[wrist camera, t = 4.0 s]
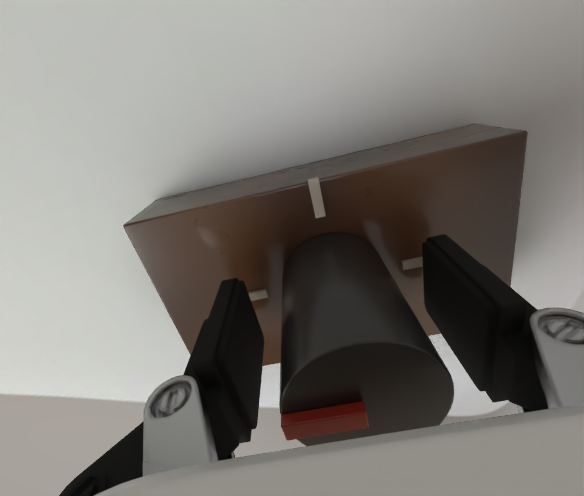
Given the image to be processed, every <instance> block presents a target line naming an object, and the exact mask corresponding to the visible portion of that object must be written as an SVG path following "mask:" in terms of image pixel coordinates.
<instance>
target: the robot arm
mask: <svg viewBox="0 0 584 496" xmlns="http://www.w3.org/2000/svg"><path fill="white" fill-rule="evenodd" d="M422 260H423V284H424V304H425V308H426V311H427V313H428V314H429V316H430V317H431V319H432V320H433V322H434V323H435V325H436V326H437V328H438V329H439V331H440V332H441V334H442V335H443V337H444V339H445V340H446V342H447V343H448V345H449V346H450V348H451V349H452V351H453V352H454V354H455V355H456V357H457V358H458V360H459V361H460V363H461V364H462V366H463V367H464V369H465V370H466V372H467V373H468V375H469V376H470V378H471V379H472V381H473V382H474V384H475V385H476V387H477V388H478V389H479V390H480V391H486V393H487V394H488V396H489V397H490V399H491V400H492V402H498V401H505V400H509V401H510V402H512V403H514V404H516V405H517V408H518V412H519V413H518V414H512V415H505V416H498V417H492V418H485V419H479V420H472V421H465V422H459V423H452V424H445V425H439V426H432V427H426V428H420V429H413V430H407V431H400V432H394V433H387V434H381V435H375V436H368V437H362V438H356V439H349V440H343V441H337V442H330V443H324V444H318V445H312V446H306V447H299V448H293V449H287V450H281V451H275V452H269V453H262V454H257V455H250V456H244V457H238V458H235V455H234V450H235V449H236V448H237V446H238V445H239V443H243V442H249V441H250V438H251V430H252V429H255V428H256V426H257V420H258V408H259V397H260V386H261V375H262V364H263V353H264V336H263V332H262V330H261V327H260V324H259V321H258V319H257V316H256V313H255V310H254V307H253V305H252V302H251V299H250V296H249V294H248V291H247V288H246V285H245V283H244V281H243V280H242V281H239V280H238V278H233V279H228V280H223V281H222V282H221V284H220V287H219V289H218V292H217V295H216V298H215V301H214V303H213V306H212V309H211V312H210V315H209V317H208V319H206V320H204V322H203V324H202V327H201V329H200V332H199V335H198V337H197V340H196V343H195V345H194V348H193V351H192V354H191V356H190V359H189V362H188V364H187V367H186V370H185V372H184V375H181V376H176V377H174V378H171V379H169V380H167V381H165V382H164V383H162V384H161V385H160V386H159V387H158V388H156V389H155V390H154V391H153V393H152V394H151V395H150V396H149V398H148V400H147V402H146V404H145V408H144V421H143V422H142V423H141V424H140V425H139V426H138V427H136V428H135V429H134V430H133V431H131V432H130V433H129V434H128V435H127V436H125V437H124V438H123V439H122V440H121V441H119V442H118V443H117V444H116V445H114V446H113V447H112V448H111V449H110V450H109V451H107V452H106V453H105V454H104V455H103V456H101V457H100V458H99V459H98V460H96V461H95V462H94V463H93V464H92V465H90V466H89V467H88V468H87V469H86V470H84V471H83V472H82V473H81V474H79V475H78V476H77V477H76V478H75V479H74V480H73V481H72V482H71V483H70V484H69V485H68V486H66V488H65V489H64V490H63V491H62V493H61V494H60V495H59V496H584V313H582V312H578V311H575V310H571V309H565V308H545V309H540V310H537V309H536V308H534V307H533V306H532V305H531V304H530V303H528V302H527V301H526V300H525V299H524V298H523V297H521V296H520V295H519V294H518V293H517V292H515V291H514V290H513V289H512V288H511V287H509V286H508V285H507V284H506V283H505V282H503V281H502V280H501V279H500V278H499V277H498V276H496V275H495V274H494V273H493V272H492V271H490V270H489V269H488V268H487V267H485V266H484V265H482V264H480V263H479V262H478V261H477V260H476V259H475V258H473V257H472V256H471V255H470V254H469V253H467V252H466V251H465V250H464V249H463V248H462V247H460V246H459V245H458V244H457V243H456V242H454V241H453V240H452V239H451V238H450V237H449V236H447V235H446V234H442V235H437V236H432V237H428V238H427V241H426V242H423V243H422Z"/></svg>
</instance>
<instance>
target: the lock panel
mask: <svg viewBox="0 0 584 496" xmlns="http://www.w3.org/2000/svg"><path fill="white" fill-rule="evenodd" d="M527 134H528V133H527V131H525V130H518V129H510V128H502V127H495V126H487V125H480V124H472V125H468V126H464V127H460V128H456V129H451V130H447V131H443V132H439V133H435V134H431V135H426V136H422V137H418V138H414V139H410V140H405V141H401V142H397V143H393V144H389V145H385V146H380V147H376V148H372V149H368V150H364V151H359V152H355V153H351V154H347V155H343V156H339V157H334V158H330V159H326V160H322V161H318V162H314V163H309V164H305V165H301V166H297V167H293V168H288V169H284V170H280V171H276V172H272V173H268V174H263V175H259V176H255V177H251V178H247V179H243V180H238V181H234V182H230V183H226V184H222V185H217V186H213V187H209V188H205V189H201V190H197V191H192V192H188V193H184V194H180V195H176V196H172V197H167V198H163V199H159V200H155V201H154V202H153V203H152V204H150V205H149V206H148V207H146V208H145V209H144V210H142V211H141V212H140V213H139V214H137V215H136V216H135V217H133V218H132V219H131V220H130V221H128V222H127V223H126V224H124V229H125V231H126V233H127V234H128V236H129V238H130V240H131V242H132V244H133V246H134V248H135V250H136V252H137V254H138V255H139V257H140V259H141V261H142V263H143V265H144V267H145V269H146V271H147V273H148V275H149V276H150V278H151V280H152V282H153V284H154V286H155V288H156V290H157V292H158V294H159V296H160V297H161V299H162V301H163V303H164V305H165V307H166V309H167V311H168V313H169V315H170V317H171V319H172V320H173V322H174V324H175V326H176V328H177V330H178V332H179V334H180V336H181V338H182V340H183V341H184V343H185V345H186V347H187V349H188V351H189V353H190V355H191V354H192V351H193V348H194V345H195V343H196V340H197V337H198V335H199V332H200V329H201V327H202V324H203V322H204V320H206V319H208V317H209V315H210V312H211V309H212V306H213V303H214V301H215V298H216V295H217V292H218V289H219V287H220V284H221V282H222V281H223V280H228V279H233V278H238V280H239V281H242V280H243V281H244V283H245V285H246V288H247V291H248V294H249V296H250V299H251V302H252V305H253V307H254V310H255V313H256V316H257V319H258V321H259V324H260V327H261V330H262V332H263V336H264V353H263V364H262V366H265V365H270V364H276V363H281V320H282V278H283V271H284V267H285V265H286V263H287V261H288V259H289V257H290V256H291V255H292V253H293V252H294V251H295V250H296V249H297V248H298V247H299V246H301V245H302V244H303V243H305V242H307V241H308V240H310V239H312V238H315V237H317V236H321V235H324V234H331V233H342V234H349V235H353V236H356V237H359V238H361V239H363V240H365V241H366V242H368V243H369V244H370V245H371V246H373V247H374V248H375V250H376V251H377V252H378V253H379V255H380V257H381V258H382V260H383V262H384V264H385V265H386V267H387V269H388V270H389V272H390V274H391V275H392V277H393V279H394V280H395V282H396V284H397V285H398V287H399V289H400V290H401V292H402V294H403V295H404V297H405V299H406V300H407V302H408V304H409V305H410V307H411V309H412V311H413V312H414V314H415V316H416V317H417V319H418V321H419V322H420V324H421V326H422V327H423V329H424V331H425V332H426V334H427V336H429V335H435V334H440V333H441V332H440V331H439V329H438V328H437V326H436V325H435V323H434V322H433V320H432V319H431V317H430V316H429V314H428V313H427V311H426V308H425V304H424V284H423V260H422V243H423V242H426V241H427V238H428V237H432V236H437V235H442V234H446V235H447V236H449V237H450V238H451V239H452V240H453V241H454V242H456V243H457V244H458V245H459V246H460V247H462V248H463V249H464V250H465V251H466V252H467V253H469V254H470V255H471V256H472V257H473V258H475V259H476V260H477V261H478V262H479V263H480V264H482V265H484V266H485V267H487V268H488V269H489V270H490V271H492V272H493V273H494V274H495V275H496V276H498V277H499V278H500V279H501V280H502V281H503V282H505V283H506V284H507V285H508V286H509V287H510V285H511V276H512V267H513V258H514V249H515V241H516V232H517V223H518V214H519V205H520V196H521V187H522V178H523V169H524V161H525V152H526V143H527Z"/></svg>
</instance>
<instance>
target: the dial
mask: <svg viewBox="0 0 584 496" xmlns="http://www.w3.org/2000/svg"><path fill="white" fill-rule="evenodd" d="M453 398H454V385H453V381H452V377H451V375H450V373H449V371H448V369H447V368H446V366H445V364H444V363H443V361H442V359H441V357H440V356H439V354H438V352H437V351H436V349H435V347H434V346H433V344H432V342H431V341H430V339H429V337H428V336H427V334H426V332H425V331H424V329H423V327H422V326H421V324H420V322H419V321H418V319H417V317H416V316H415V314H414V312H413V311H412V309H411V307H410V305H409V304H408V302H407V300H406V299H405V297H404V295H403V294H402V292H401V290H400V289H399V287H398V285H397V284H396V282H395V280H394V279H393V277H392V275H391V274H390V272H389V270H388V269H387V267H386V265H385V264H384V262H383V260H382V258H381V257H380V255H379V253H378V252H377V251H376V250H375V248H374V247H373V246H371V245H370V244H369V243H368V242H366V241H365V240H363V239H361V238H359V237H356V236H353V235H349V234H342V233H331V234H324V235H321V236H317V237H315V238H312V239H310V240H308V241H307V242H305V243H303V244H302V245H301V246H299V247H298V248H297V249H296V250H295V251H294V252H293V253H292V255H291V256H290V257H289V259H288V261H287V263H286V265H285V267H284V271H283V278H282V320H281V365H280V413H281V427H282V429H283V432H284V435H285V437H286V440H293V439H297V440H298V441H300V442H301V443H302V444H304V445H306V446H312V445H318V444H324V443H330V442H337V441H343V440H349V439H356V438H362V437H368V436H375V435H381V434H387V433H394V432H400V431H407V430H413V429H420V428H426V427H432V426H439V425H440V424H441V423H442V422H443V420H444V419H445V417H446V416H447V414H448V413H449V411H450V409H451V406H452V403H453Z"/></svg>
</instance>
